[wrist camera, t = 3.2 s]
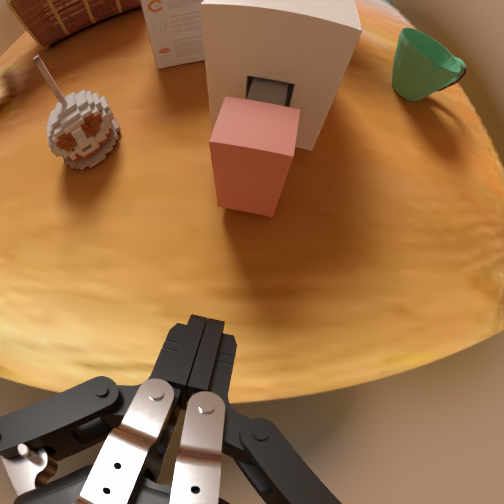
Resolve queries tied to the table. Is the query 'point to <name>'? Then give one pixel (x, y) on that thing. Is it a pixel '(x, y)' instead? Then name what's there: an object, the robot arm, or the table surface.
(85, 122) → the decorative ornament
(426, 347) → the table surface
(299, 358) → the table surface
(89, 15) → the picnic basket
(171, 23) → the small box
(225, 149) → the key
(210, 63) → the box
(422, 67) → the mug
